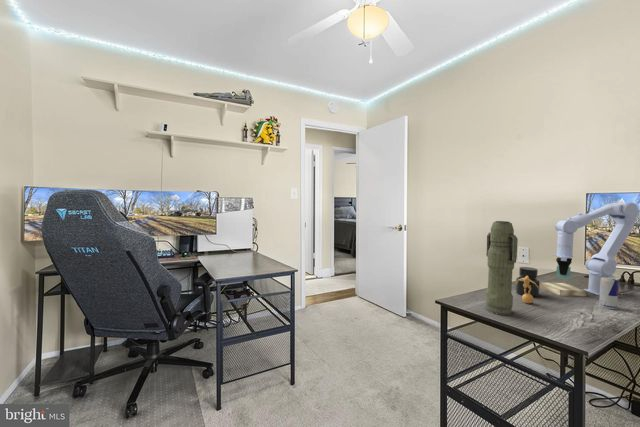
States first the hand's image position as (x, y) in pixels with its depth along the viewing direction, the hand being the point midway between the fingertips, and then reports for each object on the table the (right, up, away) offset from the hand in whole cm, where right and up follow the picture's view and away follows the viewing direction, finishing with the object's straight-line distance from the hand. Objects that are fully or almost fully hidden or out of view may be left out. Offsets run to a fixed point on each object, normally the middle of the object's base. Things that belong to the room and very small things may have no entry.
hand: (563, 273), depth 139 cm
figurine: (-30, -9, -17) cm, 35 cm away
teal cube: (0, -2, 0) cm, 2 cm away
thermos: (-47, -9, -25) cm, 54 cm away
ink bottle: (-20, -9, -4) cm, 22 cm away
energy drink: (+2, -10, -20) cm, 22 cm away
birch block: (0, -9, 0) cm, 9 cm away
